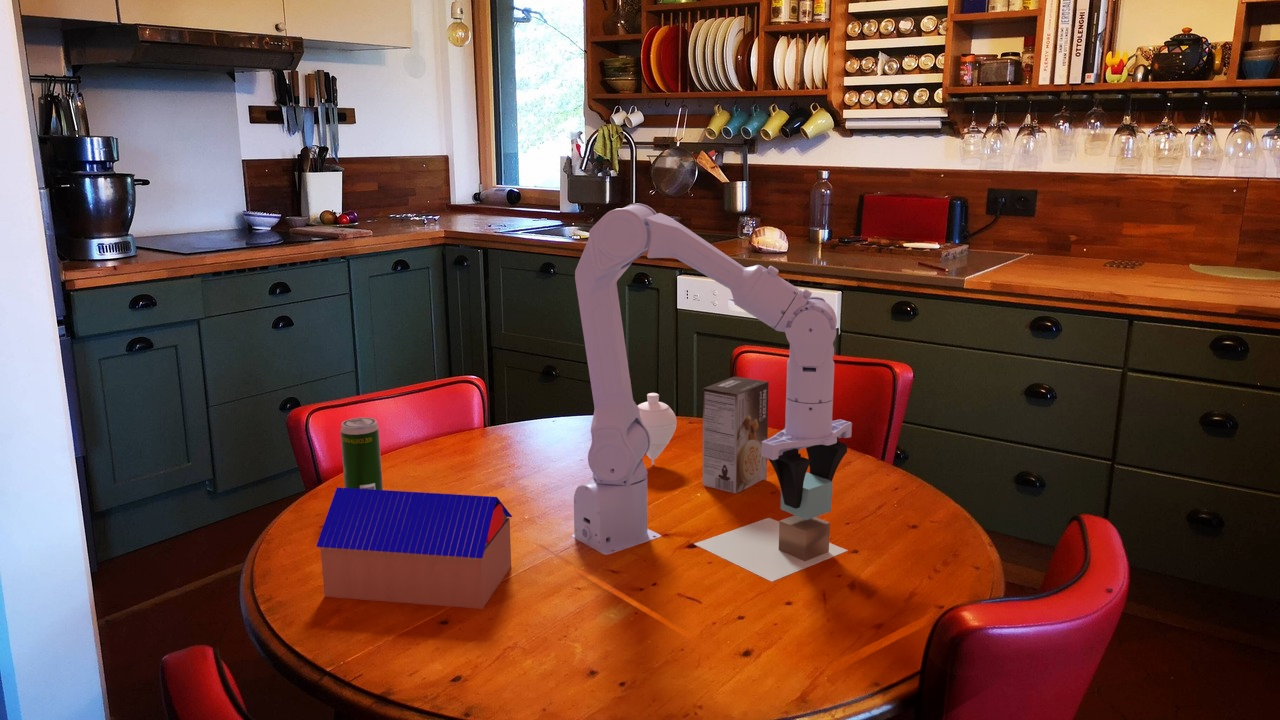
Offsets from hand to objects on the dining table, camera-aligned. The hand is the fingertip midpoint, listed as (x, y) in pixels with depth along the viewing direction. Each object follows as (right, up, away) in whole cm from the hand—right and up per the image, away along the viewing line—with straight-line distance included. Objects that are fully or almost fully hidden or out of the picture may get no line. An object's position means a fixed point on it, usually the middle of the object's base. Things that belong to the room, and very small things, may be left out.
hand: (805, 501), depth 122 cm
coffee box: (-6, -2, +27) cm, 27 cm away
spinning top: (-19, +1, +36) cm, 40 cm away
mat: (-4, -7, +3) cm, 9 cm away
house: (-48, -9, -5) cm, 49 cm away
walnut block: (0, -7, +2) cm, 7 cm away
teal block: (0, -1, 0) cm, 1 cm away
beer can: (-62, -3, +21) cm, 65 cm away
